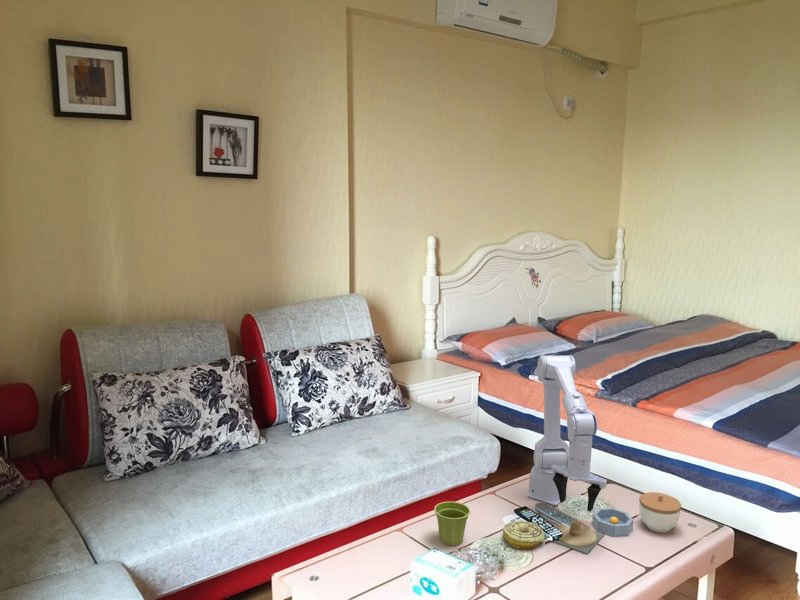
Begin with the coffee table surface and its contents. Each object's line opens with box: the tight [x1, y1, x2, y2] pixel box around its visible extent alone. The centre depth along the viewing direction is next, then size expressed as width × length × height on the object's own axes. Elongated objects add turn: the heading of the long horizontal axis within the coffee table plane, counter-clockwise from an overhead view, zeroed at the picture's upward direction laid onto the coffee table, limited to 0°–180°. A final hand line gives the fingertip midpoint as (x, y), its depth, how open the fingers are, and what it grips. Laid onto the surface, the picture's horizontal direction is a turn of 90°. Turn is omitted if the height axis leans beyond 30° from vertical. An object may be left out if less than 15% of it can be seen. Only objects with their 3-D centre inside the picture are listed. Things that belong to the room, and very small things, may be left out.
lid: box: [555, 520, 596, 547], centre depth 175 cm, size 11×11×4 cm
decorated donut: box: [502, 520, 546, 550], centre depth 173 cm, size 10×11×4 cm
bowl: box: [591, 507, 634, 537], centre depth 180 cm, size 10×10×3 cm
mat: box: [553, 524, 605, 555], centre depth 175 cm, size 12×12×1 cm
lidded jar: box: [638, 491, 682, 534], centre depth 180 cm, size 11×11×9 cm
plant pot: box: [433, 501, 471, 546], centre depth 172 cm, size 9×9×9 cm
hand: (576, 505), depth 173 cm, fingers open, 7 cm apart
